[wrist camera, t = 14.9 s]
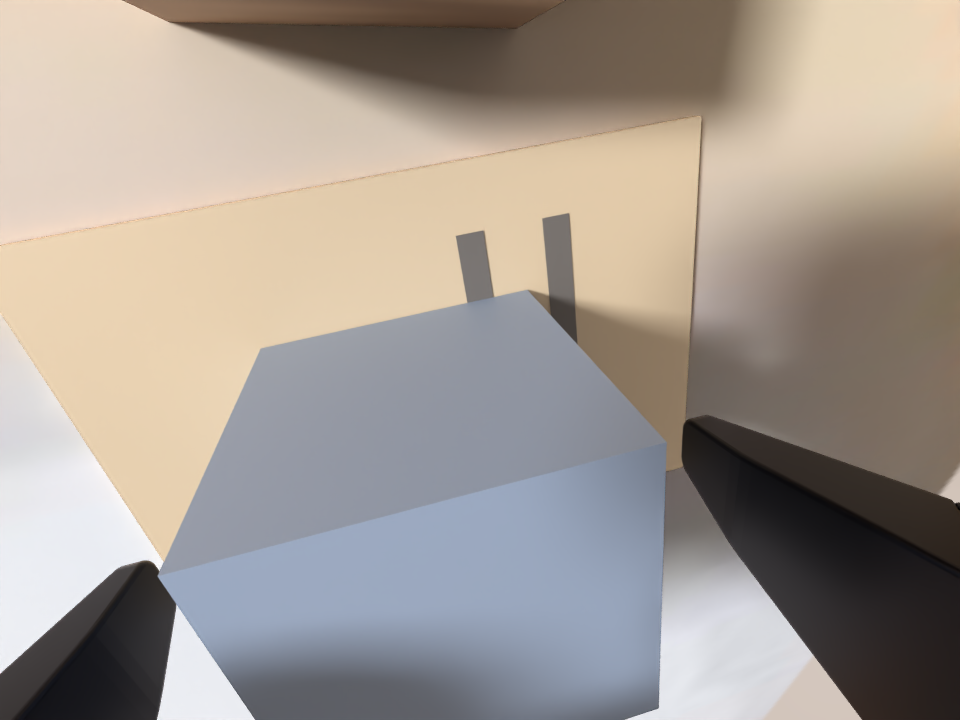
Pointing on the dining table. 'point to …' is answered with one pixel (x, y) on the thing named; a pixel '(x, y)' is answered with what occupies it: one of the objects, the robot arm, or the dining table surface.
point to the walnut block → (353, 12)
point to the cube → (431, 527)
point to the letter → (356, 289)
